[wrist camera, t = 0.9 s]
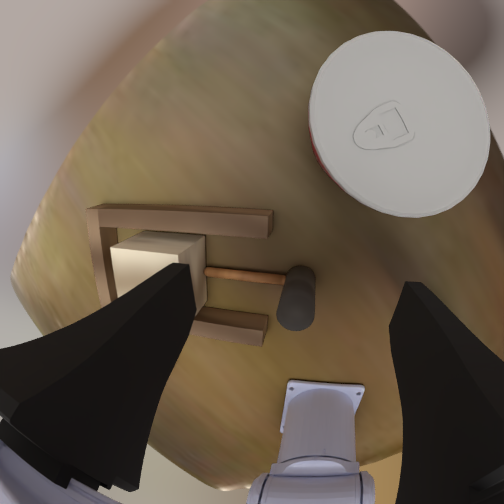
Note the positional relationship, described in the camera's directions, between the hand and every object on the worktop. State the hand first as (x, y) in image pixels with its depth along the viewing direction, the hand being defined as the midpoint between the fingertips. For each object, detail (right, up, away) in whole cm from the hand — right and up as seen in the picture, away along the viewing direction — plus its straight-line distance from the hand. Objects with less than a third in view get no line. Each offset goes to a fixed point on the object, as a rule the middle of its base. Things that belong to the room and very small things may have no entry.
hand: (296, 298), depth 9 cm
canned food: (+7, +10, +9) cm, 15 cm away
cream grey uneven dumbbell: (-4, 0, +15) cm, 15 cm away
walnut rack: (-7, 0, +16) cm, 17 cm away
